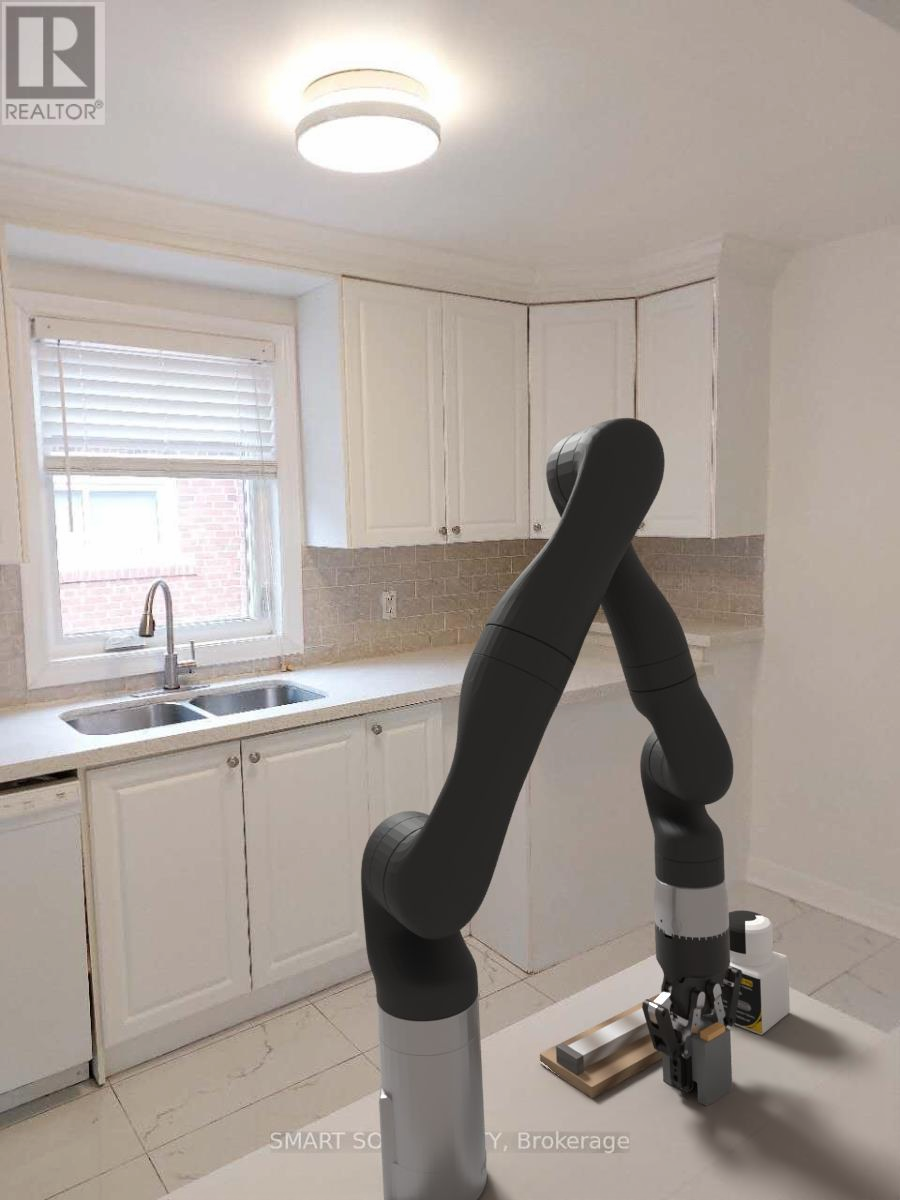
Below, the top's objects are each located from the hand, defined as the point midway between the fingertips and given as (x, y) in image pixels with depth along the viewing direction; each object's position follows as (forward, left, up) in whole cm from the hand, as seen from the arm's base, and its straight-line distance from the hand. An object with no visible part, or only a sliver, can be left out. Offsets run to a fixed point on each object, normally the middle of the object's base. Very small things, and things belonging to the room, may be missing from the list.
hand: (696, 1077), depth 89 cm
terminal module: (0, 0, -1) cm, 1 cm away
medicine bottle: (+10, +13, -1) cm, 17 cm away
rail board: (-5, +8, -1) cm, 10 cm away
